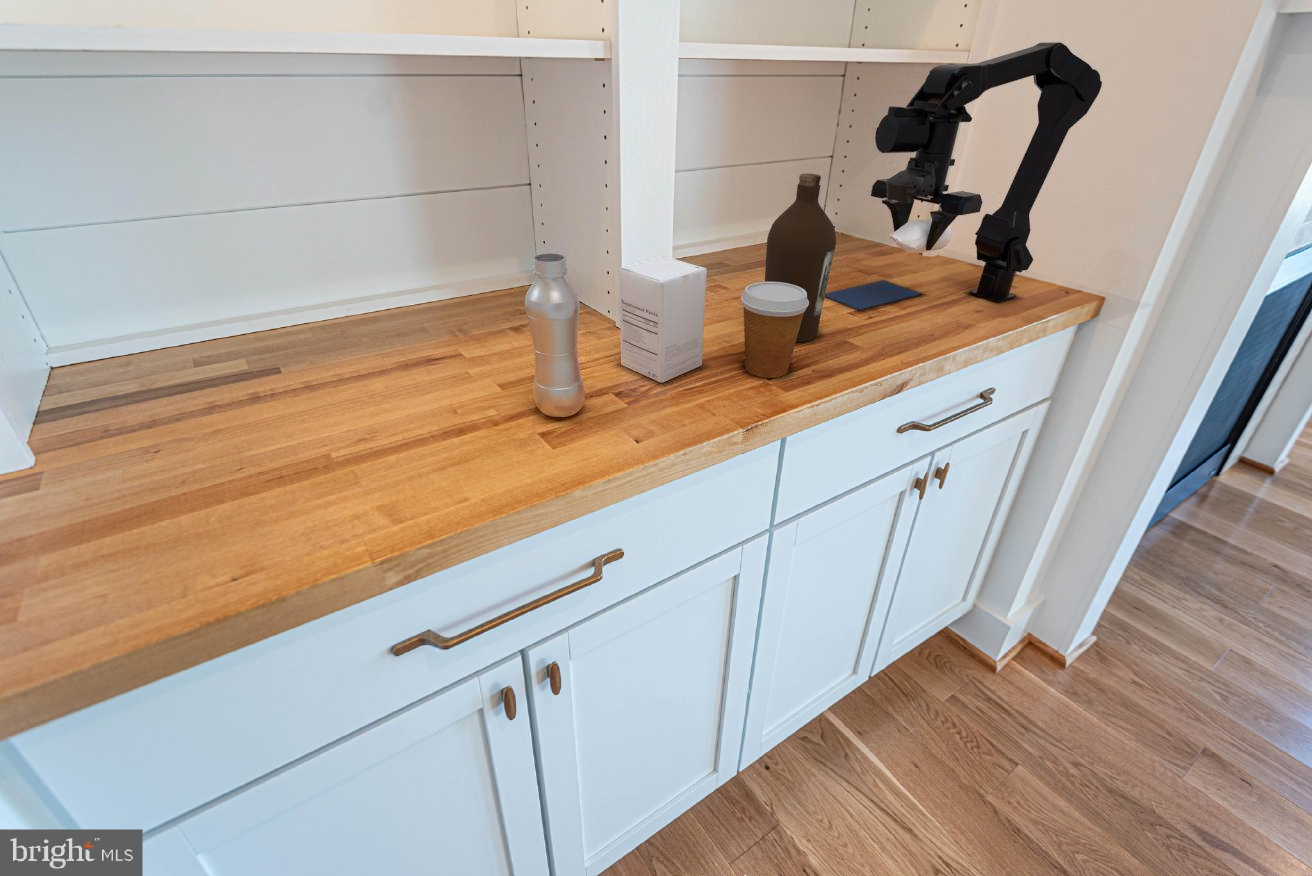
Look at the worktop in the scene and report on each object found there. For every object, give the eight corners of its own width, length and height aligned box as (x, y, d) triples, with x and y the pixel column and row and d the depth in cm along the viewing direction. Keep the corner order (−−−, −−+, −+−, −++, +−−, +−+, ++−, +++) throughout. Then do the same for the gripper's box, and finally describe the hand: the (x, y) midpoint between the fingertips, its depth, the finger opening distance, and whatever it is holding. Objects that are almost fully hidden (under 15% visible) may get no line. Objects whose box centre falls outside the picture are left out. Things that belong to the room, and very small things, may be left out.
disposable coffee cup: (779, 389, 89) (790, 307, 83) (722, 370, 94) (728, 292, 88) (809, 367, 96) (821, 289, 90) (754, 350, 101) (762, 276, 94)
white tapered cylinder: (875, 252, 115) (881, 220, 112) (921, 245, 120) (929, 214, 117) (900, 260, 111) (907, 227, 108) (947, 252, 116) (956, 221, 113)
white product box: (661, 348, 101) (663, 253, 93) (703, 366, 95) (709, 267, 88) (618, 364, 95) (617, 265, 87) (660, 384, 90) (663, 280, 82)
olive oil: (754, 340, 104) (771, 178, 91) (760, 318, 113) (777, 167, 100) (820, 347, 102) (847, 183, 89) (821, 324, 111) (846, 171, 98)
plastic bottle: (564, 428, 79) (554, 269, 68) (523, 413, 82) (507, 259, 72) (595, 407, 84) (590, 256, 73) (556, 394, 87) (545, 246, 76)
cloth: (883, 281, 133) (883, 280, 133) (921, 294, 126) (922, 293, 126) (822, 295, 124) (822, 294, 124) (859, 310, 118) (859, 308, 117)
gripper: (858, 147, 109) (842, 239, 117) (954, 162, 96) (929, 265, 104) (900, 144, 115) (882, 232, 123) (996, 158, 101) (969, 255, 110)
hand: (912, 245), depth 115 cm, fingers closed on white tapered cylinder, 6 cm apart
